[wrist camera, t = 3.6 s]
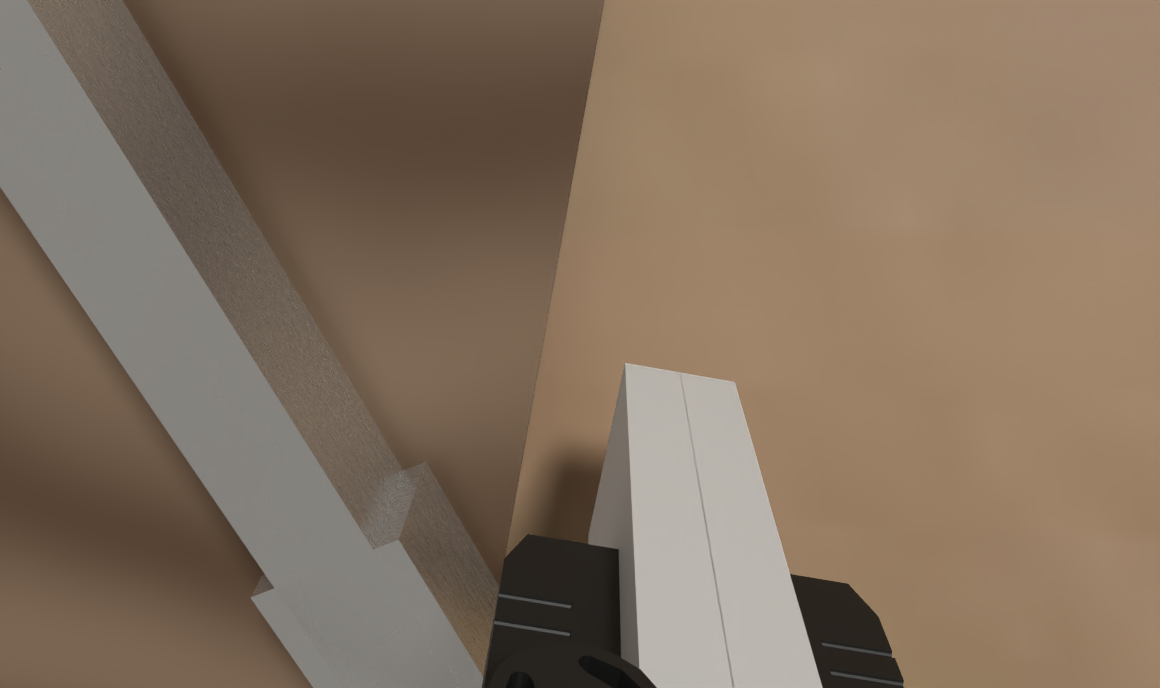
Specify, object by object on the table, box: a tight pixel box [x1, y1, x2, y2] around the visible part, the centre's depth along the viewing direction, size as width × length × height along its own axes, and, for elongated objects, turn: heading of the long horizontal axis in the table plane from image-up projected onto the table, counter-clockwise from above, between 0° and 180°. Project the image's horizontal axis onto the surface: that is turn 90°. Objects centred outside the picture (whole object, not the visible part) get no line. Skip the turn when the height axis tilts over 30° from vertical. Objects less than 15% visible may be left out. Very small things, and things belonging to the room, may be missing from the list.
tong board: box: [0, 0, 604, 688], centre depth 13 cm, size 28×15×4 cm, turn 170°
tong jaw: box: [0, 0, 499, 688], centre depth 13 cm, size 19×3×3 cm, turn 25°
